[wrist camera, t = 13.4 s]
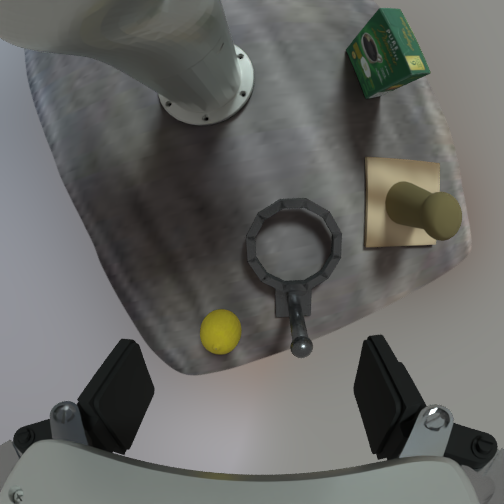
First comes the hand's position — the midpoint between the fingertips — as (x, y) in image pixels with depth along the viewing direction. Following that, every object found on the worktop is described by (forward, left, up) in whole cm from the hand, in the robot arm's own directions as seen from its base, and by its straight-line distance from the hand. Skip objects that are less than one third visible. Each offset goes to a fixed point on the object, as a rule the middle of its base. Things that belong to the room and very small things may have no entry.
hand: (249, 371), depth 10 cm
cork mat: (-3, +20, -26) cm, 33 cm away
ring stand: (+5, +4, -26) cm, 27 cm away
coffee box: (-21, +15, -26) cm, 37 cm away
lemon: (+13, -6, -26) cm, 30 cm away
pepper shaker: (-3, +20, -26) cm, 32 cm away
